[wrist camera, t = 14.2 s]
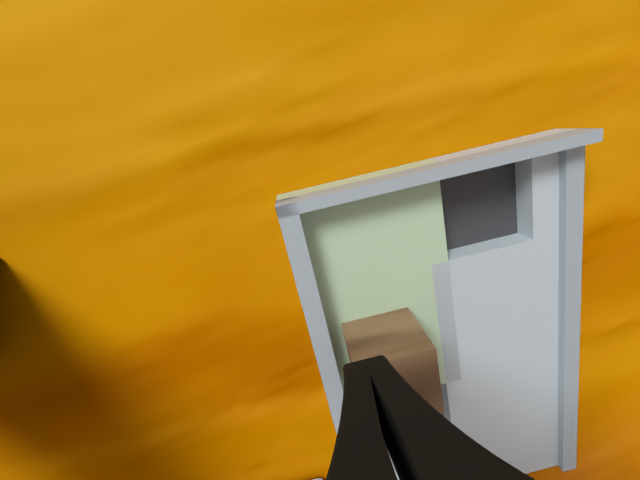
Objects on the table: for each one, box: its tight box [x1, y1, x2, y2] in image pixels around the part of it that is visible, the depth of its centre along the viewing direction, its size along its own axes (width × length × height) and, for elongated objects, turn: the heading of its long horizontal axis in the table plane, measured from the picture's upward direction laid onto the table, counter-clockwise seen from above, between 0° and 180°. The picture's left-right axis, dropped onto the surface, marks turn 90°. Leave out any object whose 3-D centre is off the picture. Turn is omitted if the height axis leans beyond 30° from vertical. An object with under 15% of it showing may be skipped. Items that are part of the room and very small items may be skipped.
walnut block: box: [341, 307, 444, 414], centre depth 19 cm, size 4×4×4 cm
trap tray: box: [275, 128, 603, 480], centre depth 21 cm, size 24×16×3 cm, turn 13°
